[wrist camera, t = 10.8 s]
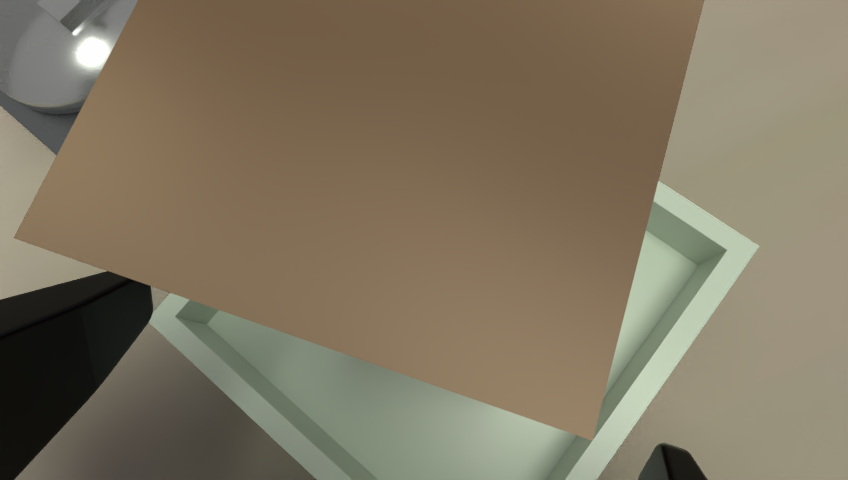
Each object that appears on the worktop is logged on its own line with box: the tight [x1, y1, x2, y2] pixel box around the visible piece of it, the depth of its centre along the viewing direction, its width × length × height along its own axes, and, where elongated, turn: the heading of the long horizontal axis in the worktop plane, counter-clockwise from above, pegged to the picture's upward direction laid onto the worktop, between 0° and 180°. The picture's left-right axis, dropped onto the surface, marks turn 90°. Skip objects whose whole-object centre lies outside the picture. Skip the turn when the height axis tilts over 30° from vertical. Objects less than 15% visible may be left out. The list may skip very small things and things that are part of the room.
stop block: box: [14, 0, 704, 441], centre depth 11 cm, size 5×5×13 cm
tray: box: [149, 181, 759, 480], centre depth 17 cm, size 12×12×3 cm
